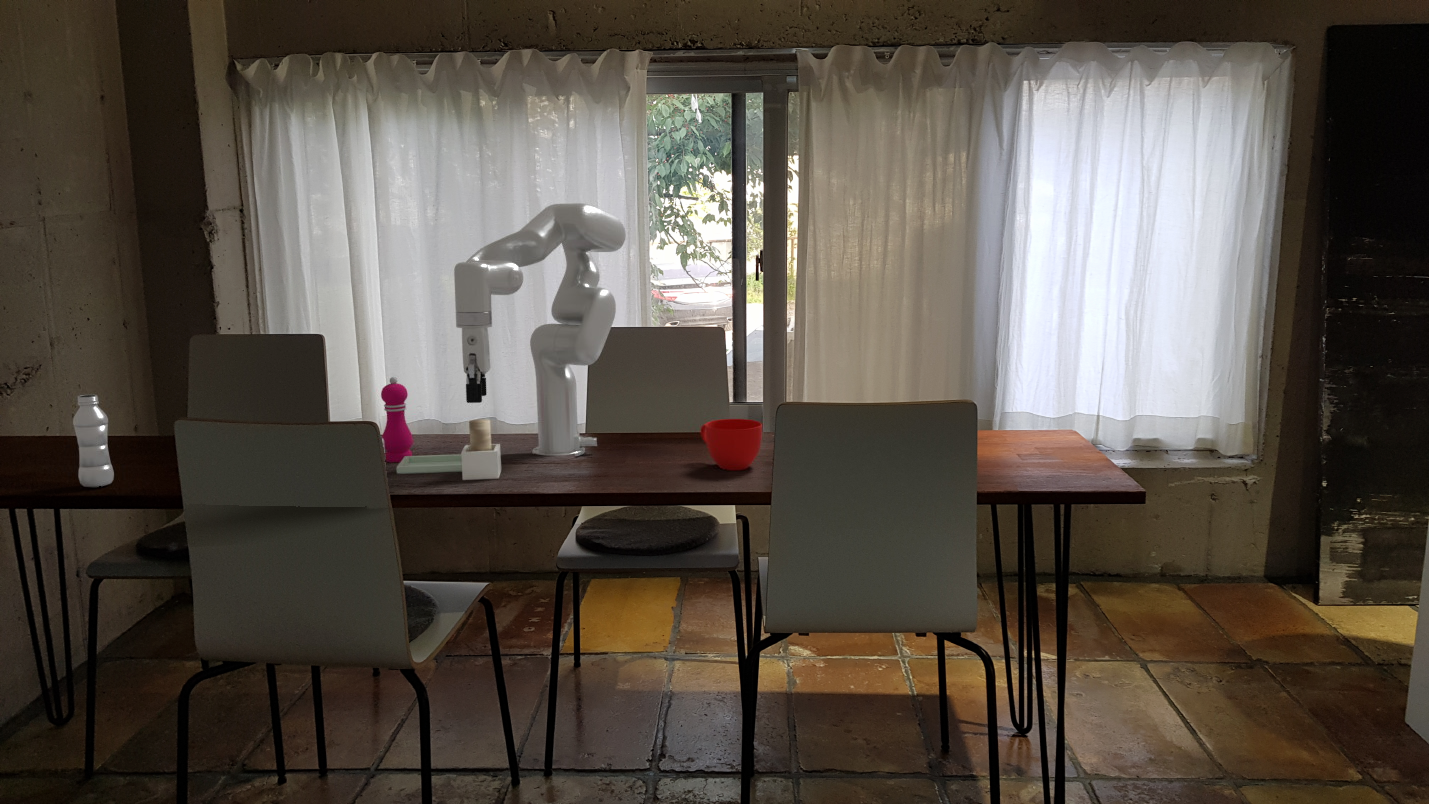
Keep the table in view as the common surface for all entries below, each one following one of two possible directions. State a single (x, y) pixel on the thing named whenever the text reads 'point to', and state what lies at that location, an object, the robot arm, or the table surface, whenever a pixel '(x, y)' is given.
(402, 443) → the pepper mill
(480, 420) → the beige ringed cylinder
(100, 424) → the plastic bottle
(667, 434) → the table surface
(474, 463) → the box
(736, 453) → the ceramic cup
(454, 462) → the tray
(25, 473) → the table surface
